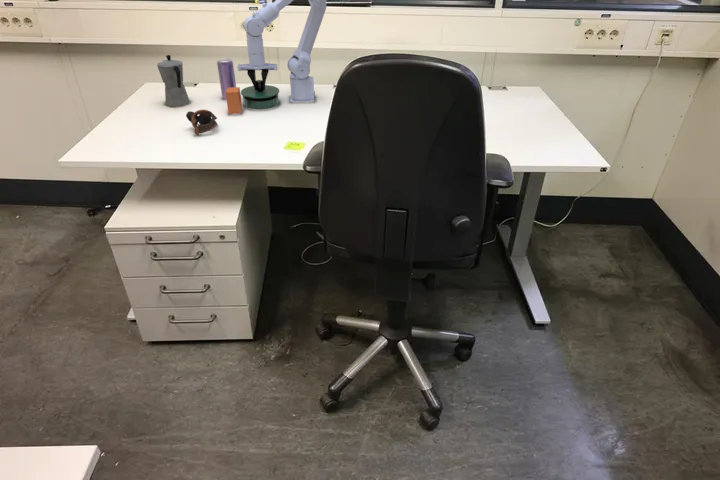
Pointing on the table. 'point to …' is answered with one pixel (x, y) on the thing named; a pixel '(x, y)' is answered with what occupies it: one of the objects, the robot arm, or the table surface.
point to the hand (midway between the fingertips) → (259, 89)
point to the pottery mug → (202, 120)
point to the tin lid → (260, 91)
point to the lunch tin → (261, 102)
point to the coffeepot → (173, 82)
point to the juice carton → (233, 100)
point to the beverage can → (226, 74)
